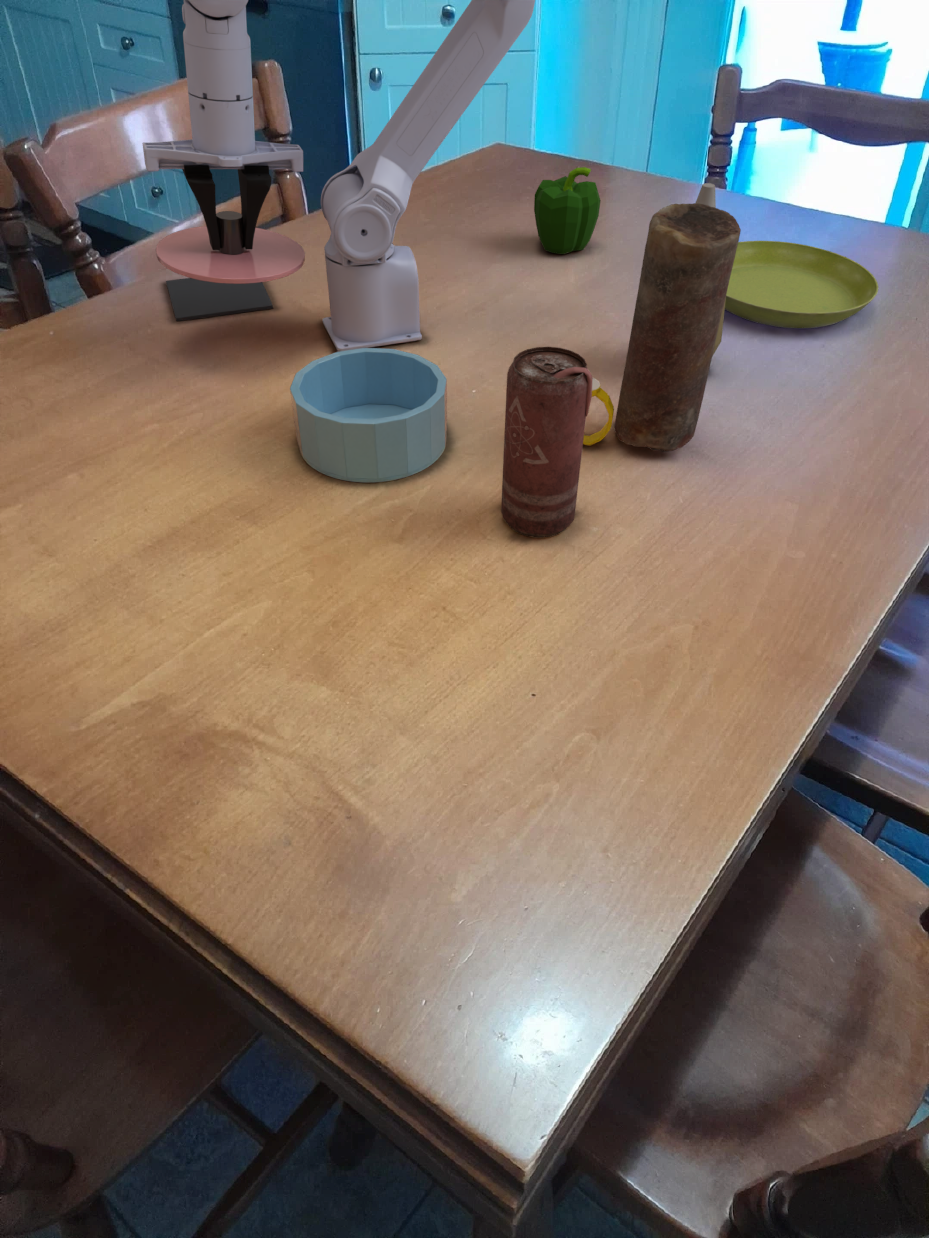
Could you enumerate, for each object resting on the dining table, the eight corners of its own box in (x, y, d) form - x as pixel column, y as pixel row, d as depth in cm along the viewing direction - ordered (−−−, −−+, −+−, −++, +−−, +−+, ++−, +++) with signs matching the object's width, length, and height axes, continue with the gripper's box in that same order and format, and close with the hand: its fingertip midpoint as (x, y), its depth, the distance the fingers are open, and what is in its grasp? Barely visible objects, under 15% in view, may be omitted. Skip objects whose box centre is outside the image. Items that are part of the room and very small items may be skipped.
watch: (542, 445, 83) (547, 386, 79) (546, 429, 85) (551, 371, 81) (607, 452, 82) (615, 393, 78) (610, 436, 84) (618, 378, 80)
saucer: (674, 319, 103) (679, 292, 101) (708, 256, 117) (713, 230, 115) (863, 352, 97) (873, 324, 95) (876, 281, 111) (884, 255, 109)
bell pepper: (519, 251, 118) (523, 169, 111) (548, 232, 123) (554, 153, 116) (577, 265, 114) (585, 181, 108) (604, 245, 120) (614, 164, 113)
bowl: (421, 395, 90) (419, 339, 86) (466, 466, 80) (466, 407, 76) (286, 417, 87) (278, 360, 83) (316, 494, 77) (309, 434, 73)
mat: (257, 272, 112) (256, 269, 112) (273, 308, 104) (272, 305, 104) (166, 284, 109) (165, 280, 109) (176, 321, 102) (175, 318, 101)
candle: (700, 427, 86) (747, 208, 72) (689, 467, 81) (736, 239, 67) (621, 413, 88) (653, 196, 74) (605, 451, 82) (635, 227, 69)
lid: (288, 234, 99) (287, 191, 96) (319, 287, 89) (319, 240, 86) (149, 237, 94) (144, 191, 91) (166, 293, 84) (160, 244, 81)
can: (573, 545, 72) (591, 386, 63) (495, 534, 73) (501, 377, 64) (581, 501, 77) (599, 347, 67) (507, 492, 78) (515, 339, 68)
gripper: (141, 102, 76) (160, 263, 85) (309, 107, 81) (311, 259, 90) (133, 82, 81) (152, 236, 90) (293, 88, 86) (296, 234, 95)
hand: (231, 246), depth 90 cm, fingers closed on lid, 2 cm apart
